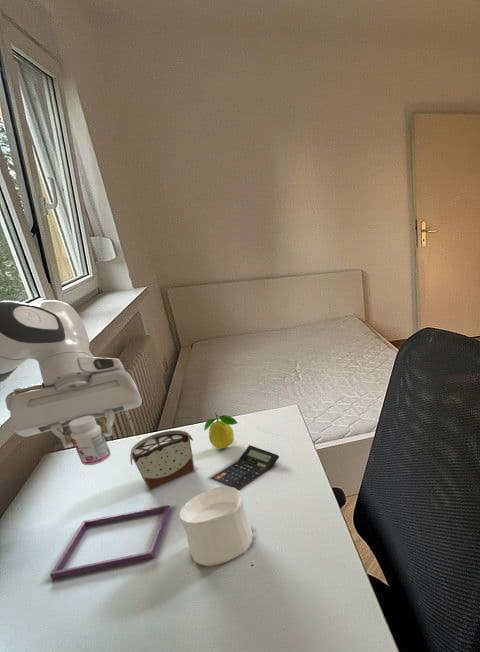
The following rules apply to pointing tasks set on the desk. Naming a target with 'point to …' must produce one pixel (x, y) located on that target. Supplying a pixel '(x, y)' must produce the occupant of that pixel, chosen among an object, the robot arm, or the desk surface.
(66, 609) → the desk surface
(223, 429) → the lemon
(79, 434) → the pill bottle
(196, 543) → the cup
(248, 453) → the calculator
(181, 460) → the food container
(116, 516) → the purple square frame
